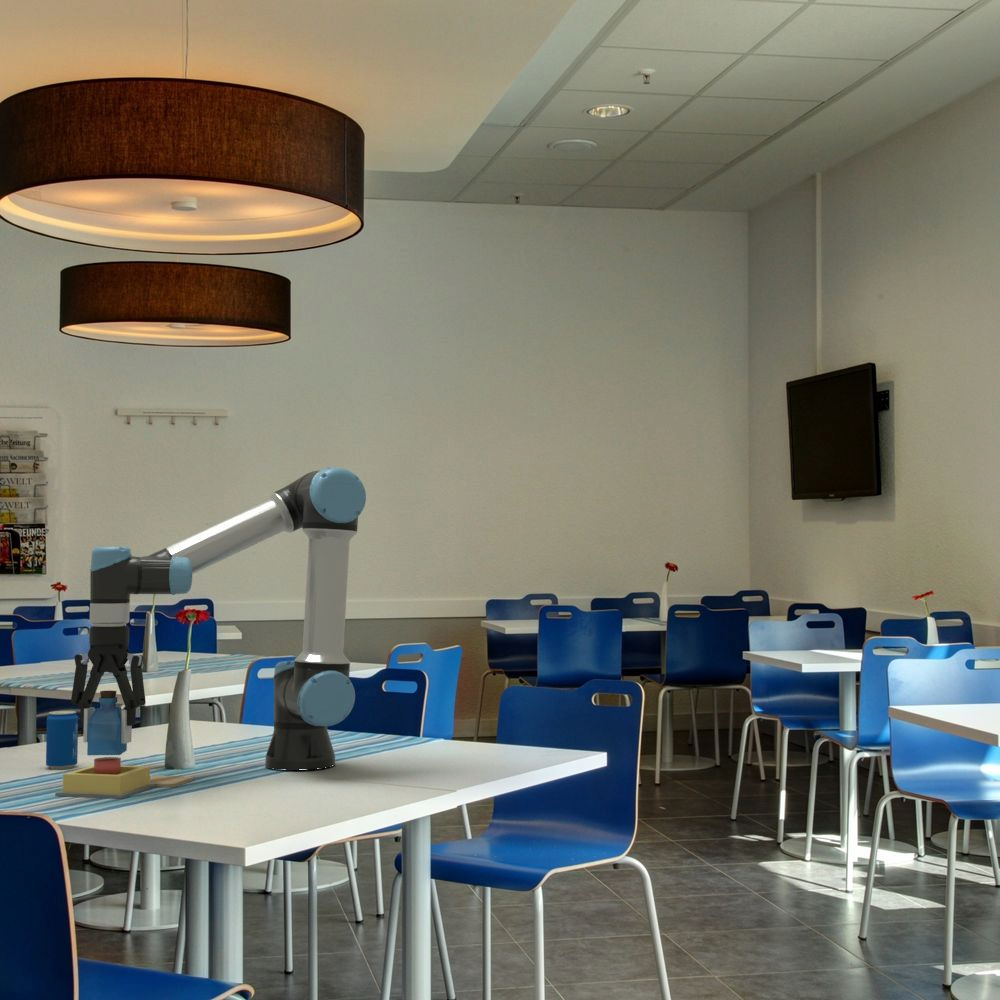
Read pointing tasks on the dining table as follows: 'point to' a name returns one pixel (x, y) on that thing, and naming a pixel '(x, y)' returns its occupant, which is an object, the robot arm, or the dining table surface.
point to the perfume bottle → (106, 727)
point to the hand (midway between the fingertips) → (107, 741)
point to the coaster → (169, 780)
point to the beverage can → (62, 740)
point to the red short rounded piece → (107, 765)
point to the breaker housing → (106, 783)
